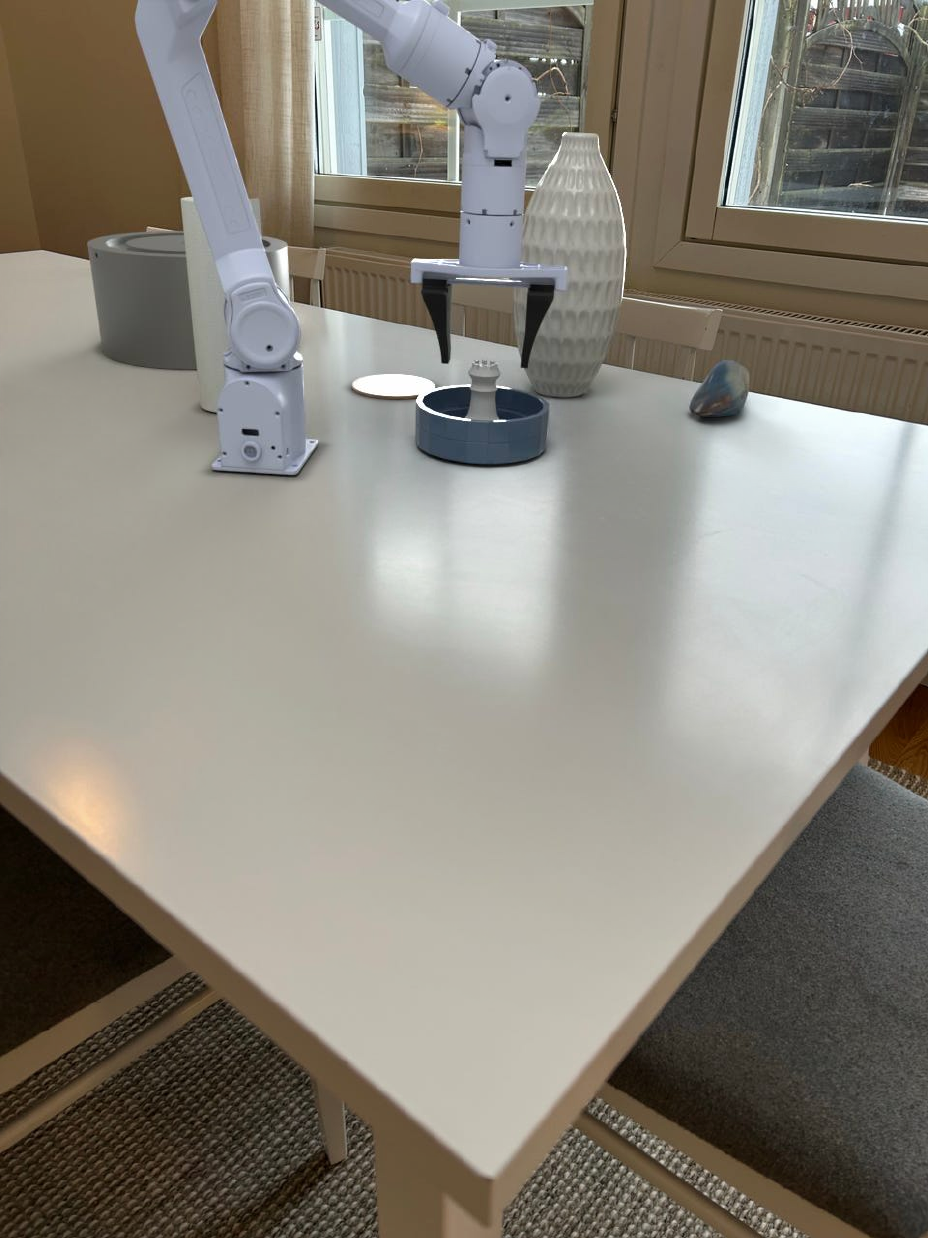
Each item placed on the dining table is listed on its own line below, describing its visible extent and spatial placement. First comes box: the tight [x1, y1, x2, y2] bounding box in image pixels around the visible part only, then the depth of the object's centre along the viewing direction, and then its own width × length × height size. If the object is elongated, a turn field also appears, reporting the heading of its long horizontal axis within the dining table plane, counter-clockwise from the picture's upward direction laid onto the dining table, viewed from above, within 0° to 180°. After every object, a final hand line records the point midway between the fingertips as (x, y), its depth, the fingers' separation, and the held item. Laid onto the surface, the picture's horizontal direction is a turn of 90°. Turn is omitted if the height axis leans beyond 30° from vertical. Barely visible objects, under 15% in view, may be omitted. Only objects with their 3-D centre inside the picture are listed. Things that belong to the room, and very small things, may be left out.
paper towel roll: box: [180, 196, 263, 413], centre depth 100 cm, size 7×6×21 cm
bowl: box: [414, 384, 550, 466], centre depth 96 cm, size 13×13×4 cm
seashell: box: [688, 359, 751, 418], centre depth 109 cm, size 6×9×10 cm
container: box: [86, 230, 291, 370], centre depth 126 cm, size 25×25×13 cm
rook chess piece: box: [465, 359, 502, 421], centre depth 94 cm, size 4×4×8 cm
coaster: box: [351, 373, 436, 400], centre depth 115 cm, size 10×10×1 cm
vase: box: [512, 131, 627, 399], centre depth 110 cm, size 13×13×28 cm
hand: (485, 363), depth 93 cm, fingers open, 7 cm apart
